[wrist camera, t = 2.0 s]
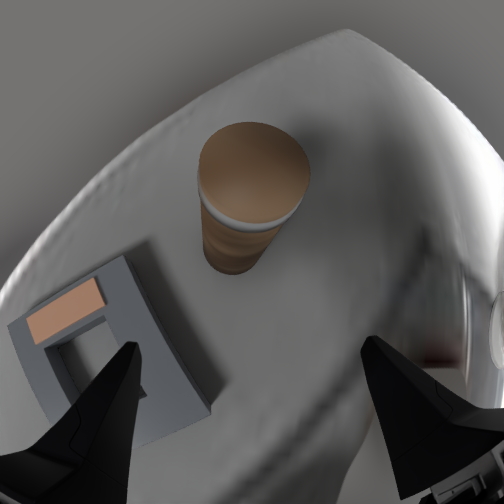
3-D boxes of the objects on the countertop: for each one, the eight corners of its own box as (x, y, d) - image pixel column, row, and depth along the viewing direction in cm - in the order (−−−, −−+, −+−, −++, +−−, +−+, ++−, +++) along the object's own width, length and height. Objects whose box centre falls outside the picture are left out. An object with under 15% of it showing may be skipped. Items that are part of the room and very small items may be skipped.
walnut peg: (272, 258, 24) (333, 188, 12) (220, 286, 23) (233, 238, 11) (242, 209, 25) (273, 109, 13) (191, 234, 24) (178, 142, 12)
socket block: (210, 405, 20) (211, 415, 18) (88, 456, 17) (77, 467, 14) (131, 262, 22) (121, 253, 20) (21, 326, 19) (5, 325, 16)
